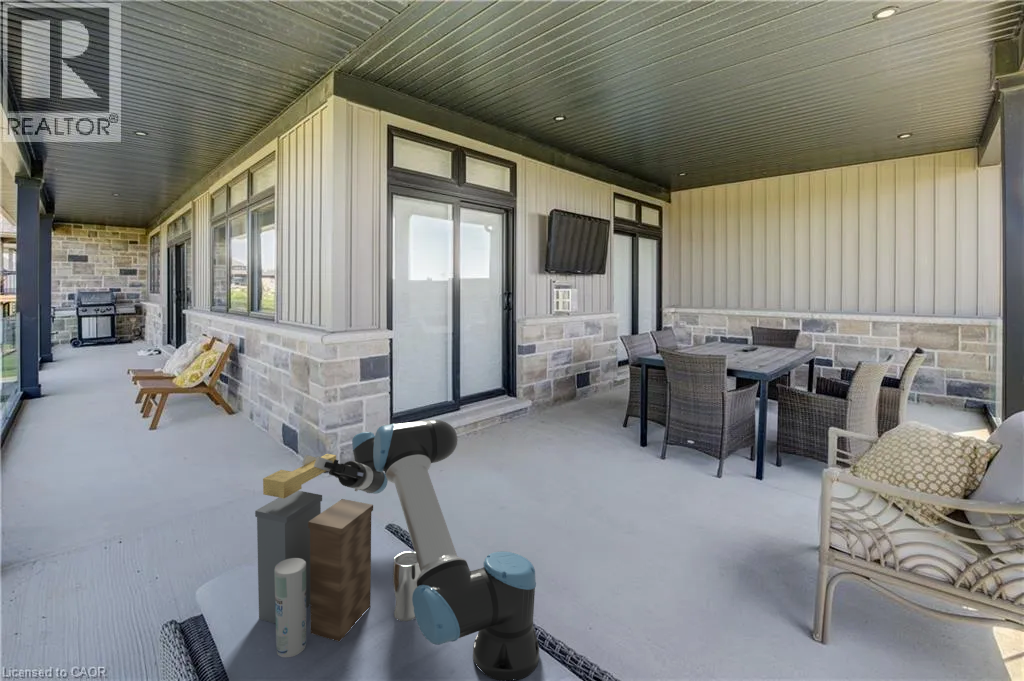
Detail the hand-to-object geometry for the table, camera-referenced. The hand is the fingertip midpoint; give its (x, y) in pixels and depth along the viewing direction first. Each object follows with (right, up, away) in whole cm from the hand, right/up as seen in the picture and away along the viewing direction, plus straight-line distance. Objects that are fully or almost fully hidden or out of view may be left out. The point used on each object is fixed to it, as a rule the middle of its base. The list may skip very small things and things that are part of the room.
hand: (310, 460), depth 131 cm
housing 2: (+11, -38, -7) cm, 40 cm away
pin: (-1, -4, -2) cm, 5 cm away
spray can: (+2, -39, -17) cm, 42 cm away
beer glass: (+26, -38, -4) cm, 46 cm away
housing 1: (-4, -37, -3) cm, 37 cm away
